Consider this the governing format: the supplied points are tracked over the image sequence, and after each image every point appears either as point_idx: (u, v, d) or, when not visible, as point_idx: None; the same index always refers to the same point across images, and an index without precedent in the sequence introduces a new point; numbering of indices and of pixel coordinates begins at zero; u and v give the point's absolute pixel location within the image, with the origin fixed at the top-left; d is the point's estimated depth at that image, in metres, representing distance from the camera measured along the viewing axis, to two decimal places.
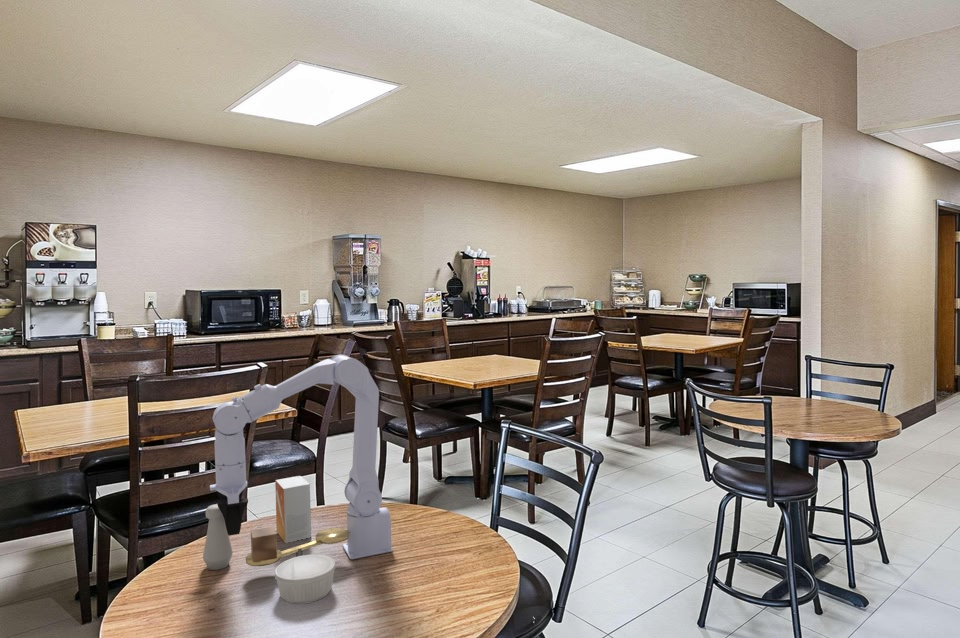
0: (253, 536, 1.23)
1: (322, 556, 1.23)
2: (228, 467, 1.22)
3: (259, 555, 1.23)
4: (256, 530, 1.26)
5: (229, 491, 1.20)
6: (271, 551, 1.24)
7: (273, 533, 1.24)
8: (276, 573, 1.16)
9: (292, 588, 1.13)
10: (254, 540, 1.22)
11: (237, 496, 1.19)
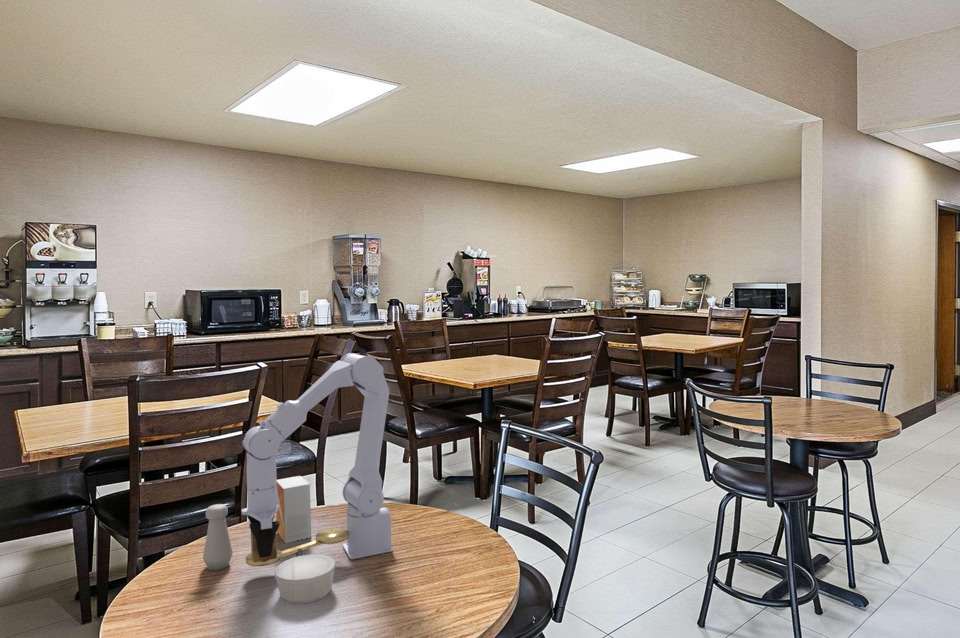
0: (253, 536, 1.23)
1: (322, 556, 1.23)
2: (260, 492, 1.22)
3: None
4: None
5: (262, 516, 1.20)
6: None
7: None
8: (276, 573, 1.16)
9: (292, 588, 1.13)
10: (254, 540, 1.22)
11: (270, 521, 1.19)
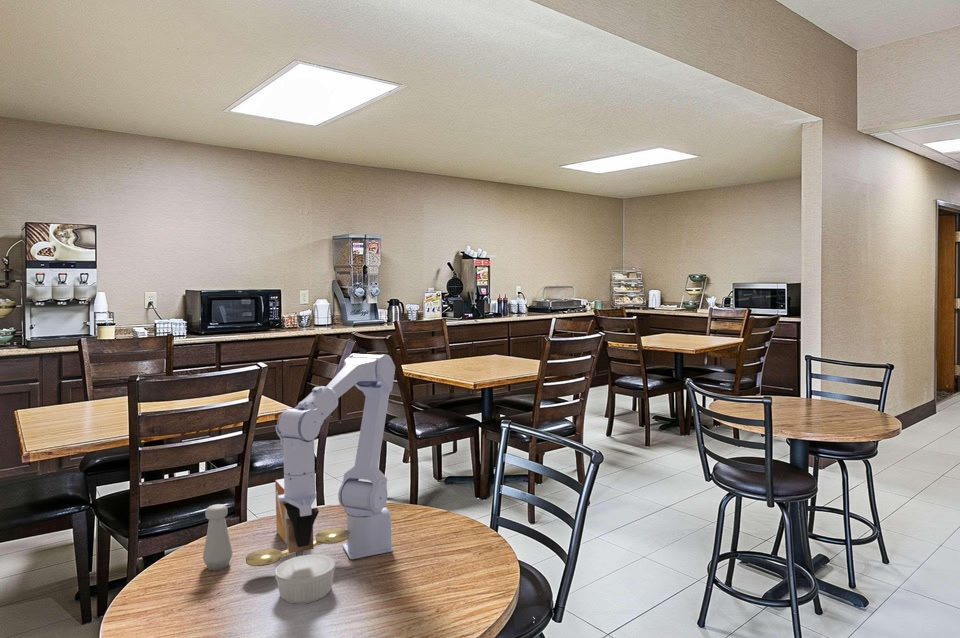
0: (289, 525, 1.16)
1: (322, 556, 1.23)
2: (298, 477, 1.15)
3: (294, 546, 1.16)
4: None
5: (300, 502, 1.14)
6: None
7: None
8: (276, 573, 1.16)
9: (292, 587, 1.13)
10: (290, 530, 1.15)
11: (310, 508, 1.12)
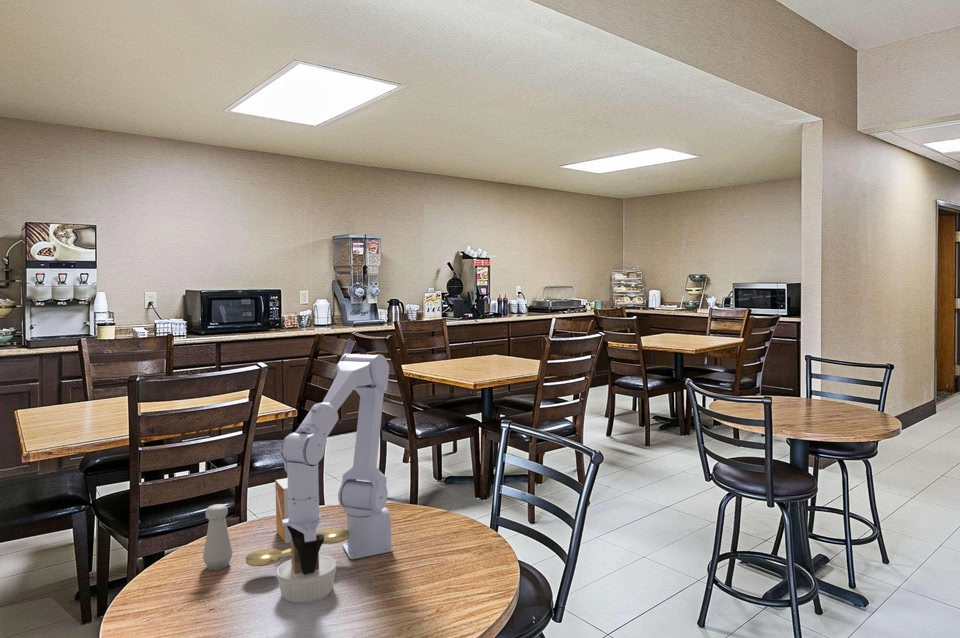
0: (294, 546, 1.16)
1: (323, 556, 1.23)
2: (303, 501, 1.15)
3: (300, 566, 1.16)
4: None
5: (305, 527, 1.13)
6: None
7: None
8: (278, 573, 1.16)
9: (294, 588, 1.13)
10: (295, 550, 1.15)
11: (314, 533, 1.12)
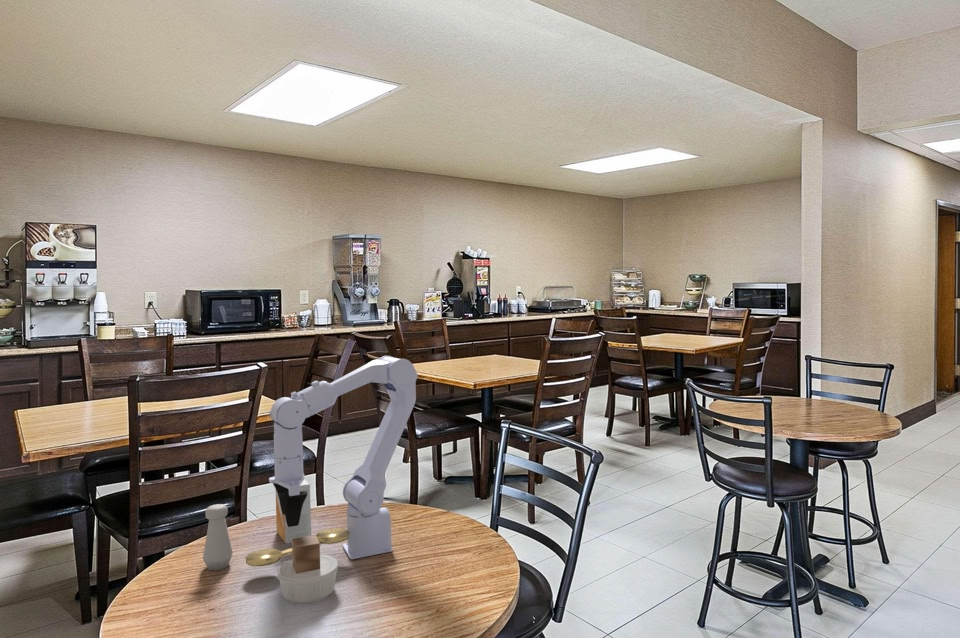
0: (296, 546, 1.16)
1: (324, 556, 1.23)
2: (288, 460, 1.25)
3: (301, 566, 1.16)
4: (298, 539, 1.19)
5: (289, 483, 1.23)
6: (314, 562, 1.17)
7: (316, 542, 1.17)
8: (279, 573, 1.16)
9: (295, 587, 1.13)
10: (297, 550, 1.15)
11: (298, 488, 1.22)
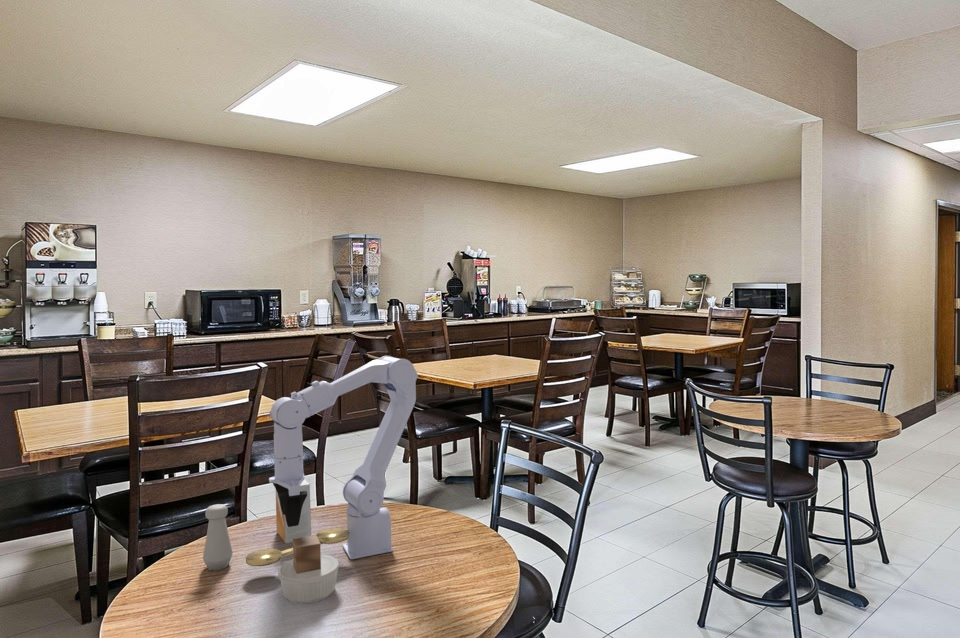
0: (296, 546, 1.16)
1: (325, 556, 1.23)
2: (288, 460, 1.25)
3: (302, 566, 1.16)
4: (298, 539, 1.19)
5: (289, 483, 1.23)
6: (314, 562, 1.16)
7: (317, 543, 1.17)
8: (280, 573, 1.16)
9: (296, 587, 1.13)
10: (297, 550, 1.15)
11: (298, 488, 1.22)
